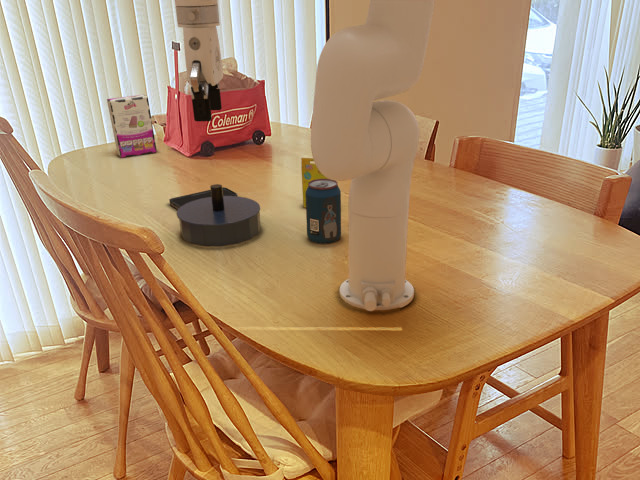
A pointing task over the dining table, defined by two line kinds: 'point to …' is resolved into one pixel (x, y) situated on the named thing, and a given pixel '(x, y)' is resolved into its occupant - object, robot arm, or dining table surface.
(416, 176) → the dining table surface
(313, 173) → the crayon box
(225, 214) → the lid
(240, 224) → the pot
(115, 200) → the dining table surface
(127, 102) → the candy bar box
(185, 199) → the phone
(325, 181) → the soda can
